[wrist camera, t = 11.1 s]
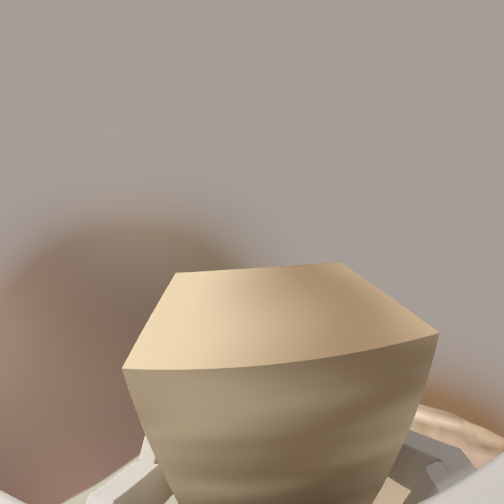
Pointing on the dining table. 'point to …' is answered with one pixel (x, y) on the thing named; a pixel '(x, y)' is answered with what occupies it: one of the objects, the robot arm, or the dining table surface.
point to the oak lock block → (278, 384)
